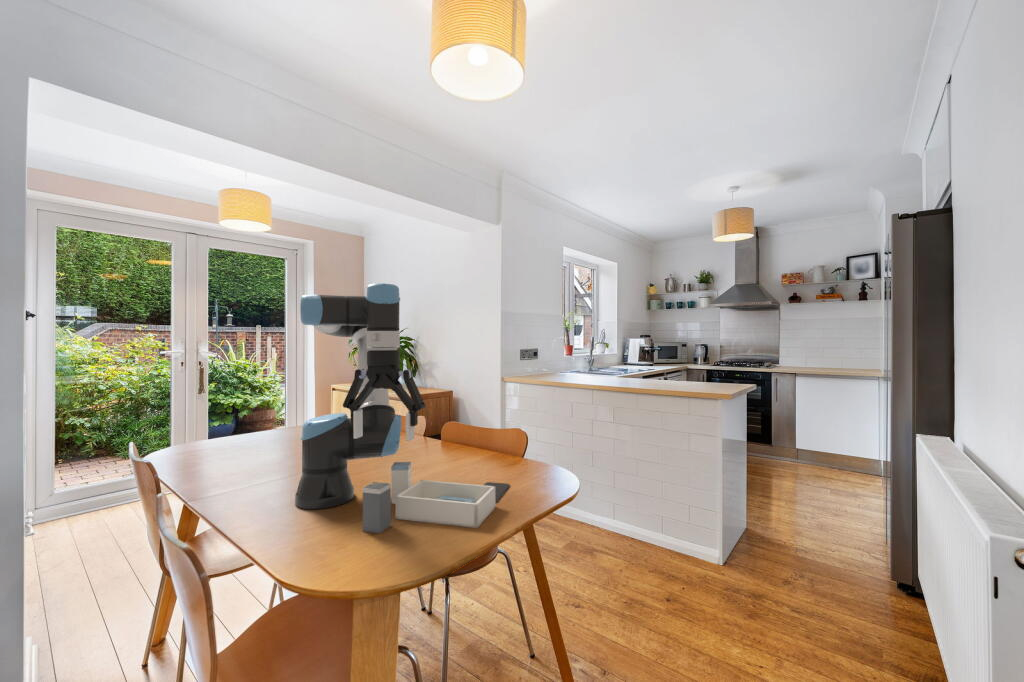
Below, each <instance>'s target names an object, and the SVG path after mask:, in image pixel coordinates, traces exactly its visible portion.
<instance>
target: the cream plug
mask: <svg viewBox="0 0 1024 682" xmlns="http://www.w3.org/2000/svg"><path fill="white" fill-rule="evenodd" d="M390 471H391V505H392V504H395V496H397V495H398V494H400V493H402V492H403V491H405V490H406V489H408V488H410V487H411V486H412V461H395V462H393V464H392V465H391V470H390Z"/></svg>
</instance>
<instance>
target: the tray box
mask: <svg viewBox="0 0 1024 682" xmlns="http://www.w3.org/2000/svg"><path fill="white" fill-rule="evenodd" d="M496 505H497V503H496V497H495V486H486V485H484V484H472V483H462V482H461V483H460V482H449V481H448V482H447V481H438V480H437V481H436V480H425V479H420V480H419V481H418V482H416V483H415V484H413V485H411V487H410V488H408V489H406V490H405V491H403V492H402V493H400V494H398V495H397V496H395V519H396V520H402V521H413V522H421V523H431V524H439V525H445V526H446V525H447V526H448V525H449V526H455V527H463V528H464V527H465V528H474V529H478V528H479V527H480V526H481V525H482V524H483V523H484V521H485V520H486V519H487V518H488V517H489V516H490V514H492V512H493V511H494V510H495V508H497V507H496Z"/></svg>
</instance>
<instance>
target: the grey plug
mask: <svg viewBox="0 0 1024 682" xmlns="http://www.w3.org/2000/svg"><path fill="white" fill-rule="evenodd" d="M391 505H392V483H388V482H387V483H386V482H378V481H377V482H376V481H373V482H371V483H369V484H368V485H365V486H363V487H362V532H365V533H372V534H373V533H374V534H382V533H383V532H384V531H385V530H387V529H388V528H390V527H391V524H392V523H391V520H392V519H391V517H392V516H391V515H392V514H391V512H392V510H391Z"/></svg>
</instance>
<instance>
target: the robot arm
mask: <svg viewBox="0 0 1024 682" xmlns="http://www.w3.org/2000/svg"><path fill="white" fill-rule="evenodd" d="M400 302H401V297H400V289H399V286H398V285H395V284H392V283H383V282H382V283H380V282H379V283H370V284H368V285H367V287H366V295H363V296H362V295H332V294H331V295H329V294H317V293H313V294H303V295H302V296H301V298H300V302H299V303H300V309H299V310H300V322H301V323H302V325H305V326H313V328H315V329H316V330H317V331H318V332H320V333H322V334H326V335H328V336H333V337H339V338H351V340H352V343H354V344H355V345H356V346H357V347H356V348H357V367H358V368H357V369H355V370H354V379H353V381H352V382H351V384H350V388H349V390H348V392H347V394H346V397H345V399H344V401H343V403H342V407H343V408H344V409H349V410H350V417H349V416H348V414H347V413H345V412H339V413H338V412H337V413H336V412H335V413H329V414H324V415H319V416H317V417H312V418H310V419H308V420H306V421H305V422H304V423H303V424H302V429H301V430H302V431H301V437H300V440H301V442H302V443H301V445H302V446H301V453H302V454H301V466H302V467H301V476H300V479H299V483H298V485H297V490H296V492H295V496H294V504H295V506H296V507H297V508H300V509H303V510H304V509H305V510H320V509H321V510H322V509H327V508H328V509H329V508H334V507H338V506H341V505H344V504H347V503H348V502H350V501H351V500H353V498H354V497H355V488H354V485H353V483H352V479H351V476H350V474H349V470H348V461H350V460H351V461H353V460H360V459H362V460H363V459H370V458H371V459H372V458H383V457H388V456H389V457H390V456H394V455H396V454H397V452H398V451H399V447H400V443H401V442H400V441H401V435H402V434H401V432H402V416H401V415H400V414H396V409H395V407H393V406H392V405H390V399H389V397H390V396H389V389H390V390H392V391H393V392H394V394H395V395H396V396H397V397H398V399H399V401H401V402H402V403H403V405H404V407H405V408H406V409H407V411H408V412H406V413H405V427H406V428H405V434H406V437H405V442H410V441H412V440H414V439H415V427H416V426H417V425H418V417H419V416H418V412H420V411H421V410H424V409H425V408H426V404H425V401H424V399H423V397H422V395H421V393H420V391H419V388H418V385H416V382H415V379H414V376H413V374H414V373H413V370H412V369H404V370H401V369H400V365H401V364H400V363H401V357H400V355H401V351H400V350H398V348H400V347H401V346H400V345H401V340H400V339H401V338H400V333H401V332H400ZM400 378H401V379H402V380H403V381H404V384H405V386H406V389H407V390H408V392H407V391H406V389H405V388H404V387H403V384H402V383H401V382H400V381H399V380H400Z"/></svg>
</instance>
